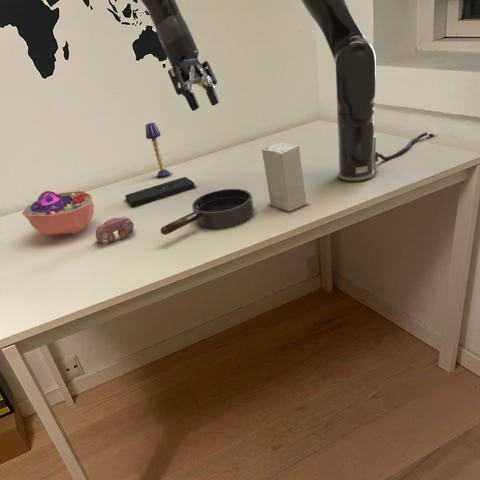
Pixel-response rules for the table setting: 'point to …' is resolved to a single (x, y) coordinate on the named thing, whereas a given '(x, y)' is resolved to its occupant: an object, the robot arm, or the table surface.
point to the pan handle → (180, 222)
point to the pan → (224, 208)
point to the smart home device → (159, 191)
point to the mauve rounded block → (114, 229)
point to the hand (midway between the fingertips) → (206, 106)
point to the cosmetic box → (284, 176)
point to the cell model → (60, 212)
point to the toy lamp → (156, 147)
